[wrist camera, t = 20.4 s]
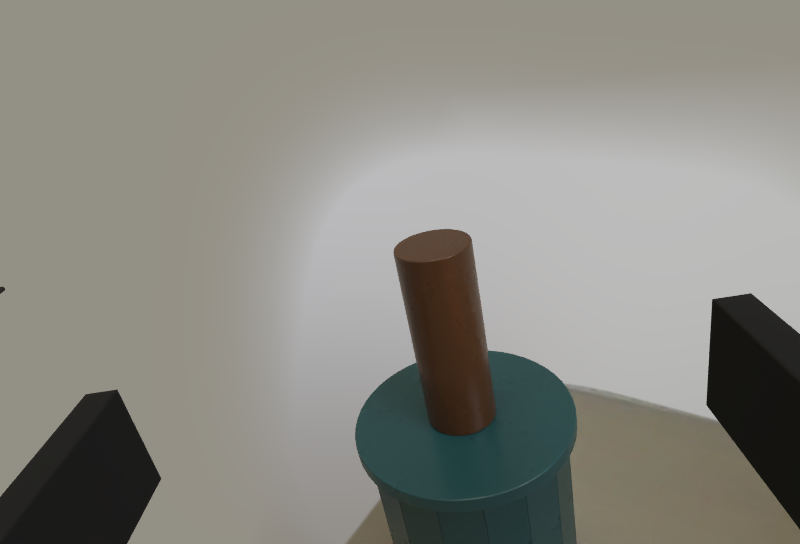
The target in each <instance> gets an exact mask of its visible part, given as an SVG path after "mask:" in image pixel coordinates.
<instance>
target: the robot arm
mask: <svg viewBox="0 0 800 544" xmlns="http://www.w3.org/2000/svg"><path fill="white" fill-rule="evenodd" d="M4 290H5V288H4V287H0V293H2V292H3V291H4ZM707 406H708V408H709V409H710V410H711V411H712V413H713V414H714V415H715V417H716V418H717V420H718V421H719V422H720V424H721V425H722V426H723V428H724V429H725V430H726V432H727V433H728V434H729V436H730V437H731V438H732V440H733V441H734V442H735V444H736V445H737V446H738V448H739V449H740V450H741V452H742V453H743V454H744V456H745V457H746V458H747V460H748V461H749V462H750V464H751V465H752V466H753V468H754V469H755V470H756V472H757V473H758V474H759V475H760V477H761V478H762V479H763V481H764V482H765V483H766V485H767V486H768V487H769V489H770V490H771V491H772V493H773V494H774V495H775V497H776V498H777V499H778V501H779V502H780V503H781V505H782V506H783V507H784V509H785V510H786V511H787V513H788V514H789V515H790V517H791V518H792V519H793V521H794V522H795V523H796V525H797V526H798V527H799V529H800V334H799V333H798V332H797V331H795V330H794V329H793V328H792V327H791V326H789V325H788V324H787V323H786V322H785V321H783V320H782V319H781V318H780V317H778V316H777V315H776V314H775V313H774V312H773V311H771V310H770V309H769V308H768V307H767V306H765V305H764V304H763V303H762V302H761V301H759V300H758V299H757V298H756V297H755V296H753V295H752V294H745V295H738V296H732V297H725V298H718V299H713V300H712V316H711V333H710V352H709V370H708V387H707ZM160 480H161V477H160V475H159V473H158V471H157V469H156V467H155V465H154V463H153V461H152V459H151V457H150V455H149V453H148V451H147V449H146V447H145V445H144V443H143V441H142V439H141V437H140V435H139V433H138V431H137V429H136V427H135V425H134V423H133V421H132V419H131V417H130V415H129V413H128V411H127V409H126V407H125V405H124V403H123V400H122V398H121V396H120V394H119V393H118V391H117V390H112V391H106V392H99V393H92V394H86V395H85V396H84V397H83V399H82V400H81V401H80V402H79V403H78V404H77V406H76V407H75V408H74V409H73V410H72V412H71V413H70V414H69V415H68V417H67V418H66V419H65V420H64V421H63V423H62V424H61V425H60V426H59V427H58V429H57V430H56V431H55V432H54V433H53V434H52V436H51V437H50V438H49V439H48V441H47V442H46V443H45V444H44V445H43V447H42V448H41V449H40V450H39V451H38V452H37V454H36V455H35V456H34V457H33V459H32V460H31V461H30V462H29V463H28V464H27V466H26V467H25V468H24V469H23V470H22V472H21V473H20V474H19V475H18V476H17V478H16V479H15V480H14V481H13V482H12V484H11V485H10V486H9V487H8V488H7V490H6V491H5V492H4V493H3V494H2V496H1V497H0V544H127V543H128V541H129V539H130V537H131V535H132V533H133V531H134V529H135V527H136V525H137V524H138V522H139V520H140V518H141V516H142V514H143V512H144V510H145V508H146V506H147V505H148V503H149V501H150V499H151V497H152V495H153V493H154V491H155V489H156V487H157V486H158V484H159V482H160Z"/></svg>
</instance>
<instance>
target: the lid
mask: <svg viewBox="0 0 800 544" xmlns="http://www.w3.org/2000/svg"><path fill="white" fill-rule="evenodd" d="M394 258H395V262H396V267H397V272H398V276H399V281H400V285H401V291H402V296H403V300H404V305H405V310H406V315H407V319H408V324H409V328H410V333H411V338H412V343H413V348H414V352H415V357H416V362H417V363H415V364H412V365H410V366H408V367H406V368H404V369H403V370H401V371H399V372H397V373H396V374H394V375H393V376H391V377H390V378H388V379H387V380H386V381H385V382H383V383H382V384H381V385H380V386H379V387H378V388H377V389H376V390H375V391H374V392H373V393H372V394H371V396H370V397H369V398H368V400H367V401H366V402H365V404H364V406H363V408H362V409H361V412H360V414H359V417H358V420H357V424H356V433H355V440H356V446H357V450H358V454H359V457H360V460H361V463H362V465H363V467H364V469H365V470H366V472H367V474H368V476H369V477H370V478H371V479H372V480H373V481H374V483H375V484H376V485H377V486H379V487H380V488H381V489H382V490H383V491H385V492H386V493H387V494H389V495H391V496H392V497H394V498H396V499H397V500H400V501H402V502H404V503H407V504H409V505H412V506H415V507H419V508H423V509H427V510H433V511H439V512H457V513H459V512H474V511H480V510H486V509H492V508H495V507H499V506H502V505H506V504H509V503H511V502H514V501H516V500H518V499H521V498H523V497H525V496H527V495H529V494H530V493H532V492H534V491H536V490H538V489H539V488H540V487H542V486H543V485H544V484H546V483H547V482H548V481H550V480H551V479H552V478H553V477H554V476H555V475H556V474H557V473H558V472H559V471H560V469H561V468H562V467H563V465H564V464H565V463H566V461H567V460H568V458H569V456H570V454H571V452H572V450H573V447H574V444H575V441H576V436H577V416H576V407H575V404H574V401H573V398H572V396H571V394H570V392H569V390H568V389H567V387H566V386H565V385H564V384H563V382H562V381H561V380H560V379H559V378H558V377H557V376H556V375H555V374H554V373H552V372H551V371H549V370H548V369H546V368H545V367H543V366H541V365H539V364H538V363H536V362H534V361H531V360H529V359H526V358H524V357H520V356H516V355H513V354H508V353H504V352H496V351H488V350H487V343H486V336H485V329H484V322H483V315H482V309H481V301H480V295H479V287H478V281H477V273H476V267H475V260H474V253H473V247H472V239H471V237H470V236H469V235H468V234H467V233H465V232H462V231H459V230H451V229H443V230H442V229H440V230H432V231H426V232H422V233H419V234H416V235H413V236H410V237H408V238H406V239H404V240H403V241H401V242H400V243H399V244H398V245H397V246H396V247H395V249H394Z"/></svg>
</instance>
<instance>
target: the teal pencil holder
mask: <svg viewBox="0 0 800 544" xmlns="http://www.w3.org/2000/svg"><path fill="white" fill-rule="evenodd" d="M378 489H379V493H380V497H381V500H382V504H383V507H384V511H385V515H386V518H387V522H388V525H389V529H390V533H391V536H392V540H393V543H394V544H577V543H576V530H575V517H574V505H573V492H572V479H571V467H570V456H569V458H568V460H567V461H566V463H565V464H564V465H563V467H562V468H561V469H560V471H559V472H558V473H557V474H556V475H555V476H554V477H553V478H552V479H551V480H550V481H548V482H547V483H546V484H544V485H543V486H542V487H540V488H539V489H538V490H536V491H534V492H532V493H530V494H529V495H527V496H525V497H523V498H521V499H518V500H516V501H514V502H511V503H509V504H506V505H502V506H499V507H495V508H492V509H486V510H480V511H474V512H459V513H457V512H439V511H433V510H427V509H423V508H419V507H415V506H412V505H409V504H407V503H404V502H402V501H400V500H397V499H396V498H394V497H392V496H391V495H389V494H387V493H386V492H385V491H383V490H382V489H381V488H380V487H379V486H378Z"/></svg>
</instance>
